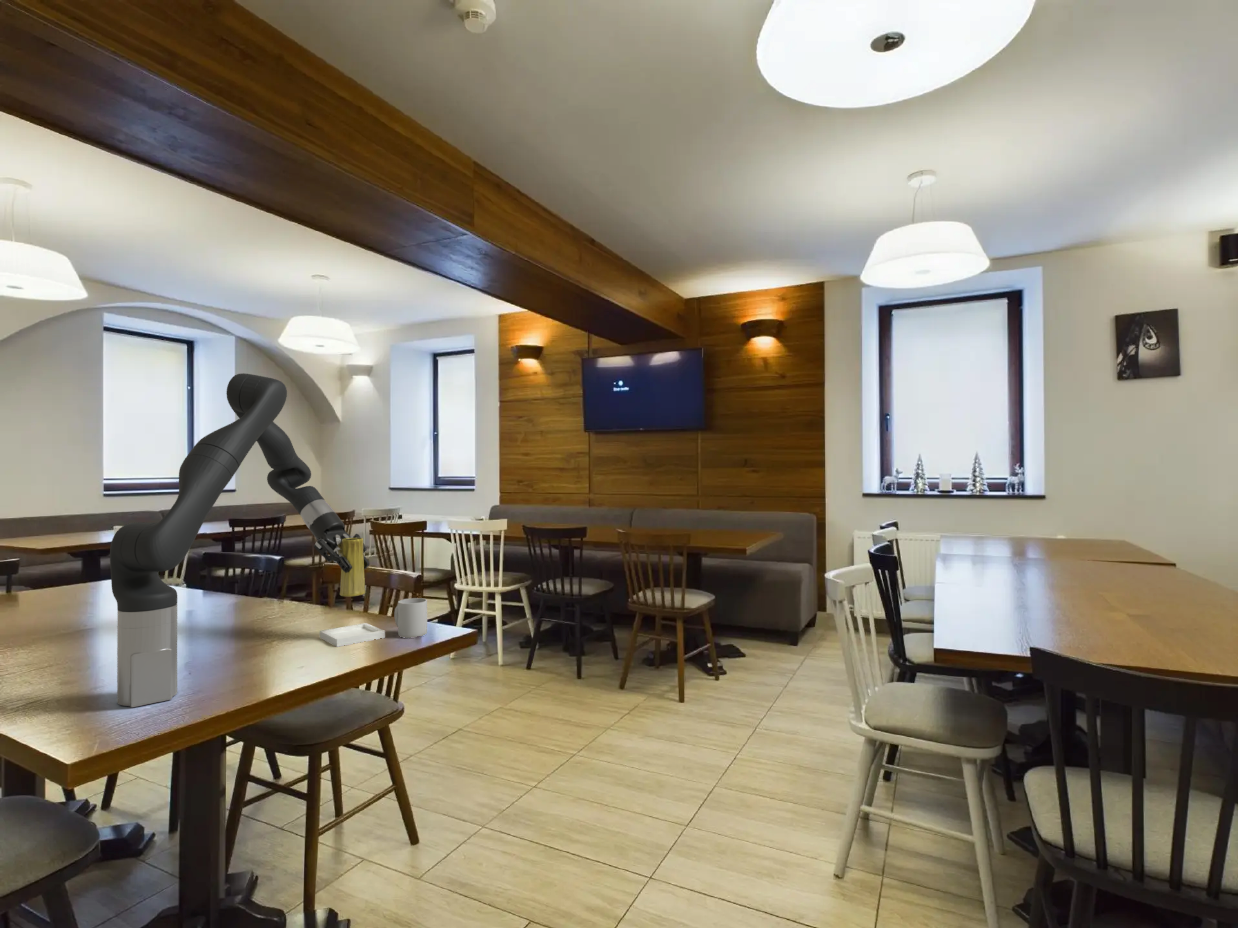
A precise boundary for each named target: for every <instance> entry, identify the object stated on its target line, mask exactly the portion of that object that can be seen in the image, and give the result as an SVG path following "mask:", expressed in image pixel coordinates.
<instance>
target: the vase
mask: <svg viewBox="0 0 1238 928" xmlns="http://www.w3.org/2000/svg"><path fill="white" fill-rule="evenodd" d="M363 543H364V538H363V537H361V538H345V539H342V545H341V546H342V553H343V556H342V557H345V558H346V559H347V560H348V562H349V563H350V564H351V566H352V569H351V570H350V571H349V572H348V573H345V572H344V571H343V570H342V569H341V568H340V588H339V589H340V591H339V595H340V596H341V597H358V596H362V595H365V594H366V589H365V587H366V582H365V579H366V578H365V569H364V557H363Z"/></svg>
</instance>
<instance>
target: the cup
mask: <svg viewBox="0 0 1238 928" xmlns="http://www.w3.org/2000/svg"><path fill="white" fill-rule="evenodd" d="M393 614H394V623H395V626H397V633H398V634H397V635H398V637H399V636H401V637H405V638H404V639H408V638H409V639H412V638H411V637H417V636H423V635H425V634H426V635H427V633H428V599H426V598H422V597H421V598H420V597H419V598H418V597H411V598H403V599H401V600H398V601H397V605H396V607H395V608H394V613H393ZM426 635H425V636H426ZM401 637H400V638H401ZM423 637H424V636H423Z"/></svg>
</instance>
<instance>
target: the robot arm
mask: <svg viewBox="0 0 1238 928" xmlns="http://www.w3.org/2000/svg"><path fill="white" fill-rule="evenodd" d="M225 394H226V400H227V402H228V404H229V406H230V408H231V409H232V411H233V413H234V414H235V415H236V416H237V418H238V419H237V420H235V421H232V422H231V423H229V424H227V425H225V426H222V427H220V428H218V429H216V430H214V431H212V432H211V433H208V434H206V435H205V436H203V437H202V438H200V440H198V442H197V443H196V444H195V445H194V446H193V447H192V449H191V450H190V451H189V453H188V454H187V456H186V457H185V458H184V460H183V461H182V463H181V464H180V467H179V471H178V495H177V498H176V500H175V502H174V503H173V505H172V506H171V508H170V510H169V511H168V512H167V513H166V514H165V516H163V518H162V519H161V520H160V521H158V522H147V521H146V522H140V521H139V522H130V523H127V524H124V525H123V526H121V527H120V528H119V529H118V530H117V531H116V532H115V533H114V534H113V535H114V536H112V540H111V542H110V548H109V549H110V550H109V563H110V564H109V565H110V566H109V568H110V579H111V581H110V582H111V593H112V595H113V597H114V599H115V602H116V604H117V609H116V610H117V625H116V627H117V632H116V633H117V635H116V637H117V638H116V642H117V648H116V649H117V650H116V652H117V653H116V655H117V657H116V658H117V659H116V661H117V662H116V663H117V664H116V668H117V669H116V670H117V671H116V672H117V675H116V679H117V681H116V682H117V684H116V685H117V686H116V688H117V690H116V691H117V692H116V695H117V697H116V698H117V700H116V701H117V704H118V705H120V706H125V707H127V706H128V707H130V708H135V707H141V706H145V705H150V704H155V703H161V702H164V701H169V700H172V699H173V697H174V696H176V695H177V693H178V592H177V590H176V589H175V588H174V587H172V586H170V585H169V584H167V583H165V582H164V581H163V580H162V579H161V577H160V576H159V572H167V571H170V570H173V569H174V568H176V567H177V566H178V565H180V564H181V562H182V561H183V560H184V559H185V558H186V556H187V555H188V553H189V551H190V549H191V547H192V545H193V544H194V541H195V539H196V537H197V535H198V534H199V531H200V530H201V527H202V526H203V524H204V522H205V520H206V518H207V516H208V514H209V513H210V512H211V510H212V508H213V507H214V505H215V504H216V502H217V501H218V499H219V497H220V496H221V494H222V493H223V491H224V489H225V488H226V487H227V485H228V484H229V483H230V481H231V480H232V478H234V476H235V474H236V473H237V471H238V470H239V468H240V466H241V465H242V463H243V462H244V460H245V458H246V457H247V455H248V454H249V452H250V451H251V449H252V448H253V446H254V445H256V442H257V444H258V445H259V447H260V449H261V452H262V454H263V457H264V458H265V461H266V462H267V465H268V466H269V467H270V468H271V469H272V470H270V471H269V472H268V473H267V475H266V476H267V477H266V481H267V484H268V486H269V487H270V488H271V489H272V490H273V491H274V492H275V493H277V495H280V496H281V497H282V498H284V499H286V501H287V502H289V503H290V504H291V505H292V506H293V507H294V509H295V510H296V511H297V512H298V514H299V515H300V517H301V518H302V521H303V522H304V524H305V525H306V527H307V528H308V530H309V531H310V532H311V534H312V535H313V536H314V538H315V539H316V540H317V541H315V544H314V545H313V547H314V549H315V550H316V551H317V552H318V553H319V554H320V555H321V556H322V557H323V559H325V560H326V561H327V562H329V563H331V562H333V563H336V564H337V565H338V566H339V567H340V570H341V569H342V570H343V571H344V572H345V573H348V572H349V571H350V570H351V569H352V566H351V564H350V563H349V562H348V560H347V559H346V558H345V557H342V556H343V553H342V546H341V545H342V539H345V538H362V537H361V536H360V534H358V533H355V534H354V535H350V533H348V532H346V531H345V530H346V528H345V527H346V526H345V523H344V522H343V520H342V519H341V518H340V517H339V515H338V514H337V512H336V511H335V510H334V509H333V508H332V506H331V505H330V504H329V503H328V502H327V501H326V500H325V499H324V497H323V496H322V494H321V493H320V492H319V490H318V489H317V488H316V487H314V486H312V485H306V486H303V485H304V484H306V483H308V482H309V481H310V479H311V477H312V471H311V468H310V467H309V466H308V464H307V463H305V462H304V461H303V460H302V459H301V458H300V457H299V456H298V454H297V452H296V450H295V449H294V446H293V443H292V440H291V439H290V437H289V435H288V434H287V433H286V432H285V431H284V430H283V429H282V428H281V427H280V426H279V425H278V424H277V423H275V421H274V420H275V419H277V418H278V416H279V415H280V413H281V412H282V410H283V408H284V406H285V404H286V401H287V397H288V389H287V387H286V385H285V383H283V382H282V380H279V379H276V378H271V377H269V376H262V375H257V374H252V373H236V374H235V375H234V376H232V377H231V378H230V380H229V382H228V383H227V387H226V393H225ZM301 486H302V487H301ZM367 550H368V548H367V547H366V545H365V543H364V542H363V557H364V570H367V568H368V567H369V566H370V561H369V560H368V558H367V557H366V556H365V555H364V554H365V553H366V551H367Z"/></svg>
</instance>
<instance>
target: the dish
mask: <svg viewBox="0 0 1238 928" xmlns="http://www.w3.org/2000/svg"><path fill="white" fill-rule="evenodd" d="M380 638H382V639H385V638H386V630H384V629H382V628H379V627H377V626H374V625H371V624H370V623H367V622H363V623H358V624H352V625H346V626H341V627H334V628H328V629H324V630H322V629H321V630H319V639H321V640H323V641H325V642H327V643H329V644H330V645H332V646H334V647H337V648H338V647H344V645H345V646H349V645H353V643H355V644H360V642H361V643H365V642H364V641H366V642H370V641H375V640H374V639H376V640H381V639H380Z"/></svg>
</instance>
